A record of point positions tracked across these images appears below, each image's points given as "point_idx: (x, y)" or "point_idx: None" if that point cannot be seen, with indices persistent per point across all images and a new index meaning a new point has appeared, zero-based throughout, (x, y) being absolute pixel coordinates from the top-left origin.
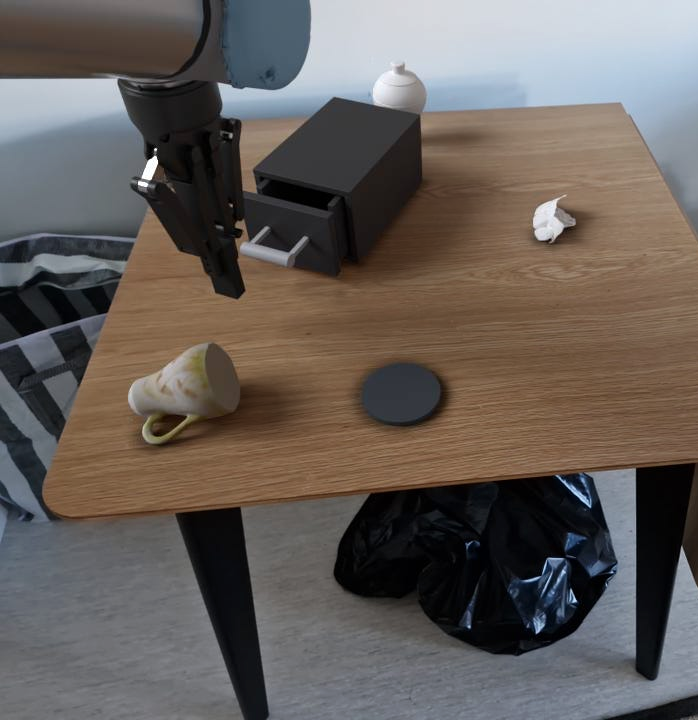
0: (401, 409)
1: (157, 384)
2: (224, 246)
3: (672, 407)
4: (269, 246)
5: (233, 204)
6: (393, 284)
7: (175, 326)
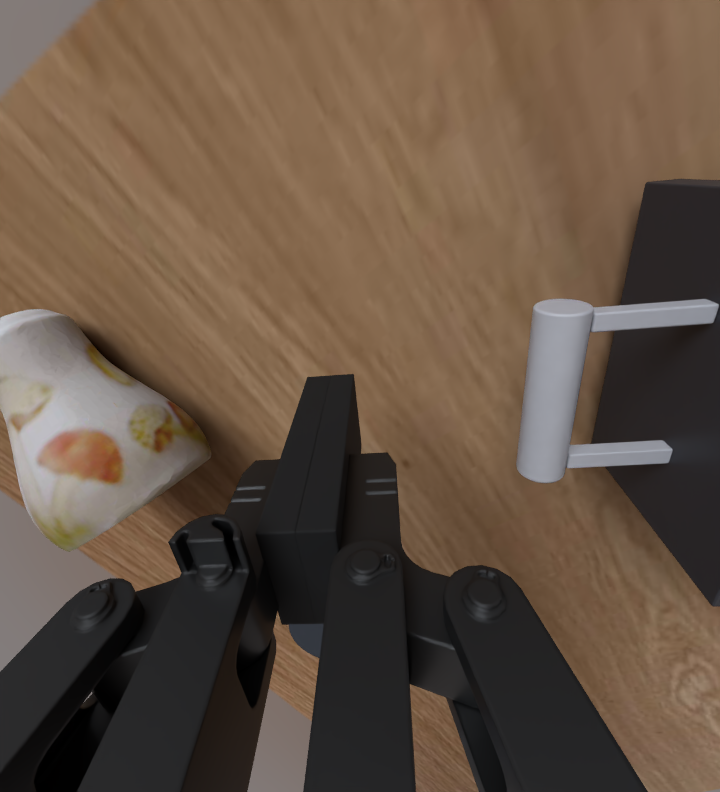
0: (318, 640)
1: (8, 423)
2: (298, 621)
3: (466, 785)
4: (659, 274)
5: (478, 778)
6: (606, 524)
7: (273, 170)
